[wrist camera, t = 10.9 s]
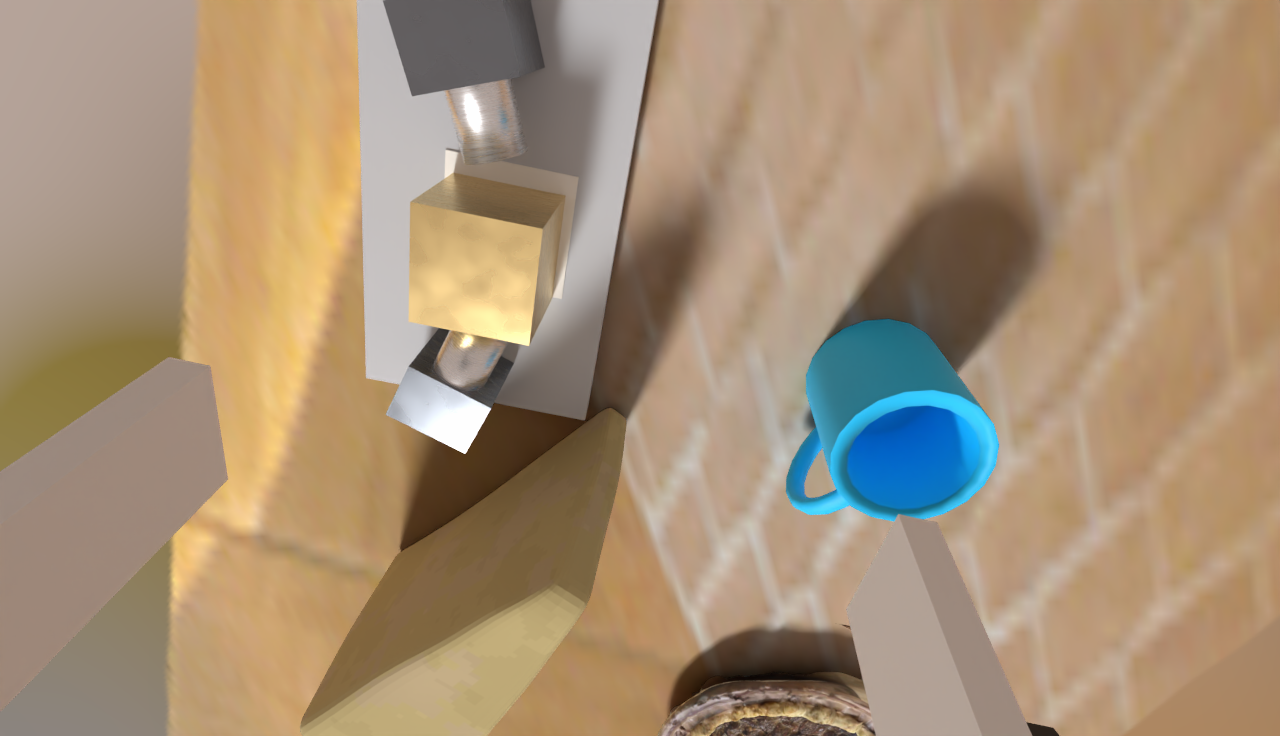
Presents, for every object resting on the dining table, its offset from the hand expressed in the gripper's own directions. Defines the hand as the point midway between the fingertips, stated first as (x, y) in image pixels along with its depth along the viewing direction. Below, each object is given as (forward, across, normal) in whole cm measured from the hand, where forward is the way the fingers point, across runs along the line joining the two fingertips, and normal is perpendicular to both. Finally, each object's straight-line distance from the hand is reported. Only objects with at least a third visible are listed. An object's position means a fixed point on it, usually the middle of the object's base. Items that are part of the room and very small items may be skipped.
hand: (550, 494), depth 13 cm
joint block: (+24, -7, -5) cm, 26 cm away
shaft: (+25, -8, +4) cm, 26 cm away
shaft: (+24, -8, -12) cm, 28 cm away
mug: (+26, +15, -11) cm, 32 cm away
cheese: (+26, -4, -25) cm, 36 cm away
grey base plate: (+26, -8, -4) cm, 27 cm away
